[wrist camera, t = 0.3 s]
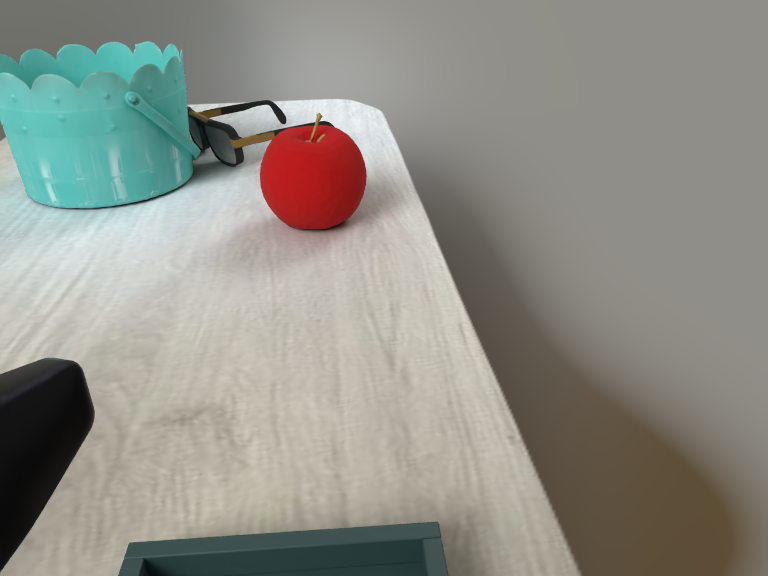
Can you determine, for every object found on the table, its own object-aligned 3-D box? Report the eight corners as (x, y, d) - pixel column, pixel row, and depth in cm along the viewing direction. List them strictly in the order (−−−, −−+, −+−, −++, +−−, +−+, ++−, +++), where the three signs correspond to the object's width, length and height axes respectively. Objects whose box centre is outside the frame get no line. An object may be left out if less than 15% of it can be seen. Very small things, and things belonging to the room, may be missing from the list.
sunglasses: (344, 147, 78) (342, 105, 76) (229, 174, 70) (223, 128, 68) (285, 123, 88) (282, 86, 85) (179, 145, 80) (172, 104, 77)
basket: (20, 167, 73) (-16, 47, 66) (184, 144, 80) (165, 34, 73) (19, 229, 58) (-28, 81, 51) (220, 194, 65) (201, 61, 58)
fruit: (285, 251, 53) (274, 132, 48) (252, 214, 60) (239, 106, 55) (384, 229, 57) (383, 116, 52) (342, 196, 64) (337, 94, 59)
